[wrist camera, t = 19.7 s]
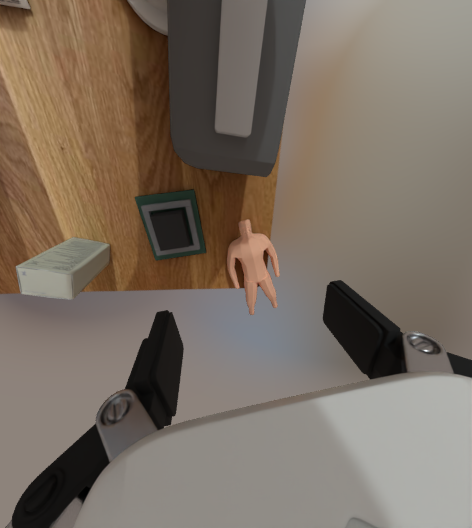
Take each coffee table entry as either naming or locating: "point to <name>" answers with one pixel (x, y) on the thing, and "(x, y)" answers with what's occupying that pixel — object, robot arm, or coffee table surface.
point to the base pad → (169, 203)
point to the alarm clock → (230, 80)
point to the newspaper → (16, 3)
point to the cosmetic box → (63, 269)
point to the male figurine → (253, 264)
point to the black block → (171, 229)
